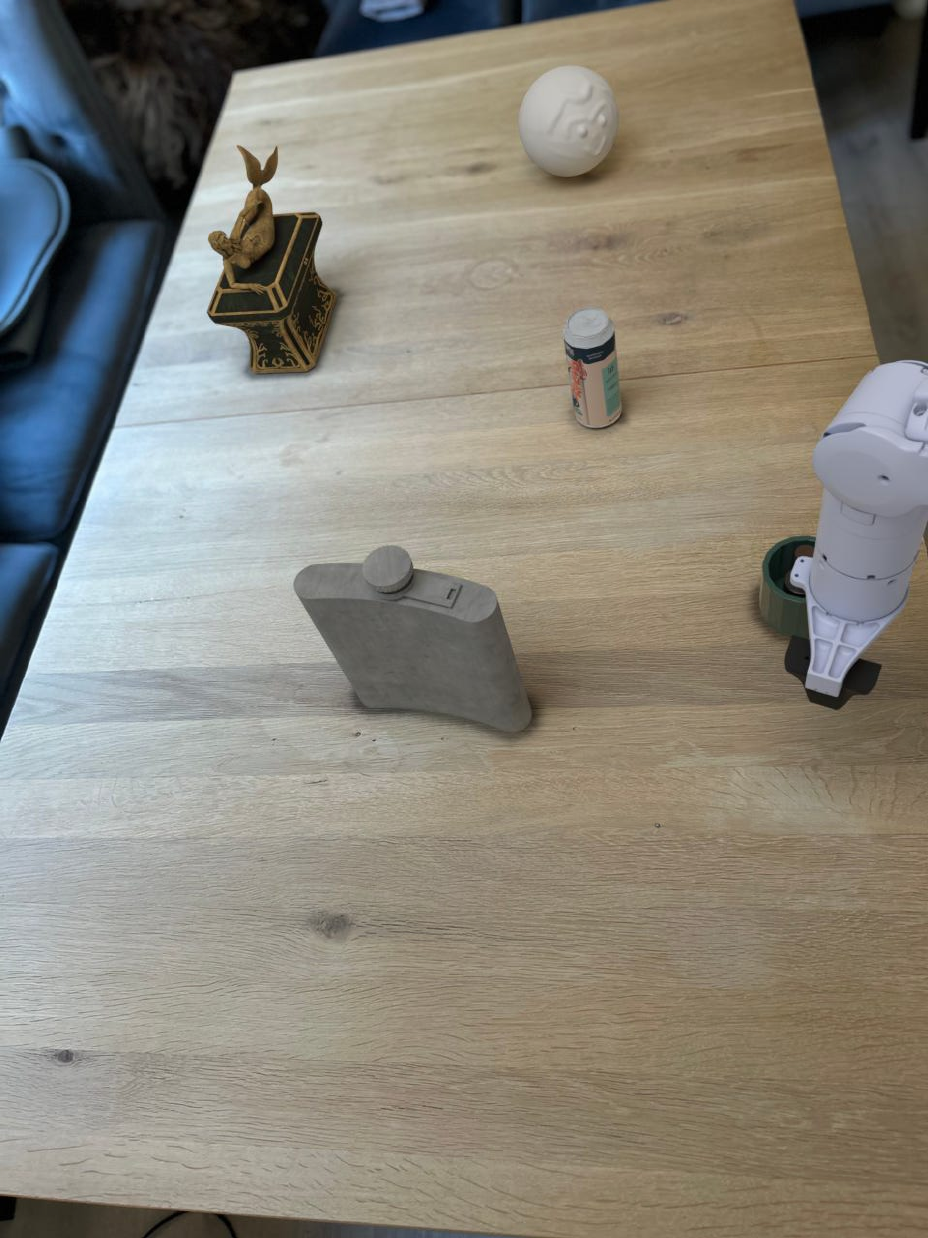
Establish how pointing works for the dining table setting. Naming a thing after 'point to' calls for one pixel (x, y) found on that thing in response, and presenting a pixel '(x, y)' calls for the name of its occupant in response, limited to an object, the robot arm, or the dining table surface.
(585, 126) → the decorative ball
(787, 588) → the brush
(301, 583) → the hip flask
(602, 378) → the beer can
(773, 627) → the pot
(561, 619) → the dining table surface
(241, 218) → the decorative box
